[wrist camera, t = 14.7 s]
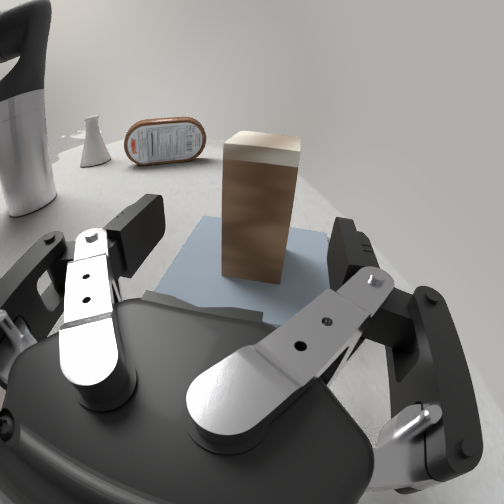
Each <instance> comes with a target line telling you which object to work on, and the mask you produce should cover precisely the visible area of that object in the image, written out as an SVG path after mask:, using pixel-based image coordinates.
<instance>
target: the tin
mask: <svg viewBox="0 0 504 504" xmlns="http://www.w3.org/2000/svg"><path fill="white" fill-rule="evenodd" d="M205 144H206V134H205V131H204V128H203V127H202V125H201V124H200V123H199V122H198V121H197V120H195V119H193V118H190V117H174V118H159V119H146V120H141V121H139V122H137V123H135V124H134V125H133V126H132V127H131V128H130V129H129V130H128V132H127V134H126V137H125V141H124V149H125V152H126V155H127V156H128V158H129V159H130V160H131V161H133V162H134V163H136V164H139V165H155V164H165V163H177V162H187V161H191V160H193V159H195V158H196V157H198V156H199V155H200V154H201V152H202V151H203V149H204V147H205Z"/></svg>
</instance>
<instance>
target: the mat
mask: <svg viewBox="0 0 504 504" xmlns="http://www.w3.org/2000/svg"><path fill="white" fill-rule="evenodd" d="M221 241H222V218H218V217H210V216H203V217H202V219H201V220H200V222H199V223H198V224H197V226H196V227H195V229H194V230H193V232H192V233H191V235H190V236H189V238H188V239H187V241H186V242H185V244H184V245H183V247H182V248H181V250H180V252H179V253H178V255H177V256H176V258H175V259H174V261H173V262H172V264H171V266H170V267H169V269H168V270H167V272H166V273H165V275H164V277H163V278H162V280H161V281H160V283H159V285H158V286H157V288H156V290H155V291H154V292H157V293H162V294H166V295H171V296H174V297H176V298H178V299H181V300H183V301H185V302H188V303H190V304H192V305H195V306H197V307H235V308H241V309H248V310H254V311H260V312H263V320H262V321H263V322H266V323H268V324H270V325H272V326H274V327H276V328H279V327H280V326H281V325H283V324H284V323H285V322H286V321H288V320H289V319H290V318H292V317H293V316H294V315H295V314H297V313H298V312H299V311H300V310H302V309H303V308H304V307H306V306H307V305H308V304H309V303H310V302H312V301H313V300H314V299H315V298H317V297H318V296H319V295H320V294H321V293H323V292H324V291H325V290H326V289H328V288H330V286H329V276H328V266H327V251H328V240H327V233H324V232H318V231H311V230H305V229H298V228H291V227H289V234H288V240H287V246H286V252H285V258H284V264H283V270H282V276H281V282H280V285H278V284H271V283H265V282H258V281H252V280H246V279H240V278H234V277H228V276H222V275H221Z"/></svg>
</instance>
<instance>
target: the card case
mask: <svg viewBox="0 0 504 504" xmlns="http://www.w3.org/2000/svg"><path fill="white" fill-rule="evenodd" d="M299 158H300V137H294V136H287V135H279V134H270V133H260V132H250V131H240V132H238V134H236V135H234V136H233V137H232V138H231V139H229V140H227V141H226V142H225V143H224V147H223V179H222V241H221V275H222V276H228V277H234V278H240V279H246V280H252V281H258V282H265V283H271V284H278V285H280V282H281V276H282V270H283V264H284V258H285V252H286V246H287V240H288V234H289V227H290V221H291V214H292V208H293V201H294V194H295V187H296V180H297V173H298V165H299Z"/></svg>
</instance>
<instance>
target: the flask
mask: <svg viewBox="0 0 504 504" xmlns="http://www.w3.org/2000/svg"><path fill="white" fill-rule="evenodd" d="M98 118H99V115H97V116H91V117H88V118H85V121H86V138H85V143H84V148H83V153H82V158H81V165H80V167H85V166H94V165H98V164H102V163H105V162H107V161H108V160H110V159H111V157H110V155H109V153H108V150H107V148H106V146H105V144H104V142H103V139H102V137H101V135H100V132H99V127H98Z"/></svg>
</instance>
